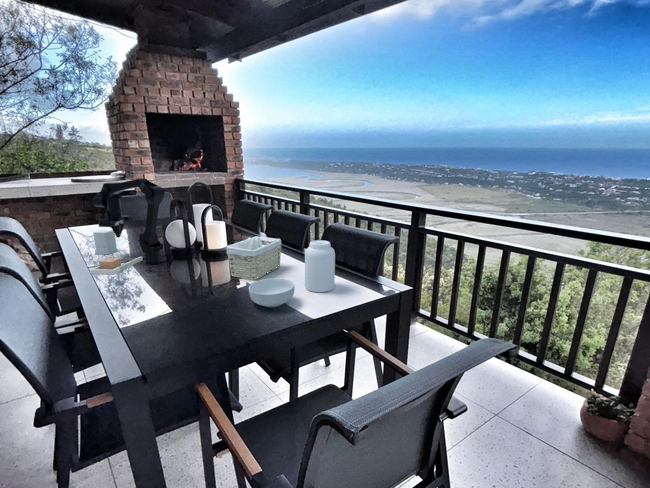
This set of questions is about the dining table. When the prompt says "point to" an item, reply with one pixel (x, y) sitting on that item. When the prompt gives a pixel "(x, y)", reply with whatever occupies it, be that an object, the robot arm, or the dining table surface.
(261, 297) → the cereal bowl
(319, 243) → the white jar
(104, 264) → the block
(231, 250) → the storage basket
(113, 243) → the supplement box
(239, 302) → the dining table surface
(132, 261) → the trap lane
